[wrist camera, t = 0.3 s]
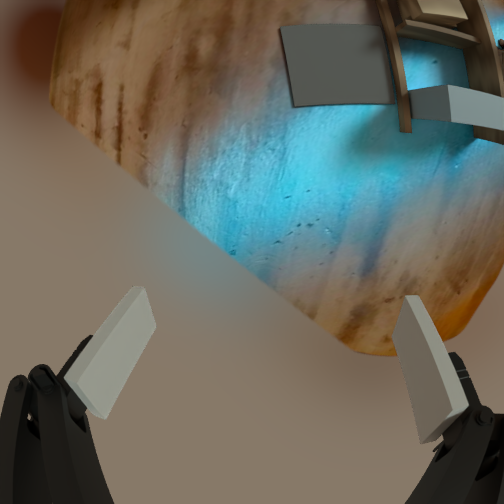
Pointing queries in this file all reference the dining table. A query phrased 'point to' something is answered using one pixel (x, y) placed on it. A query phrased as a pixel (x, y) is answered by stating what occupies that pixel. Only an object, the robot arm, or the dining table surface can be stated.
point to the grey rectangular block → (457, 106)
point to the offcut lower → (406, 16)
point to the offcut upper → (436, 10)
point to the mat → (337, 64)
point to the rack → (467, 38)
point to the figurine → (501, 56)
